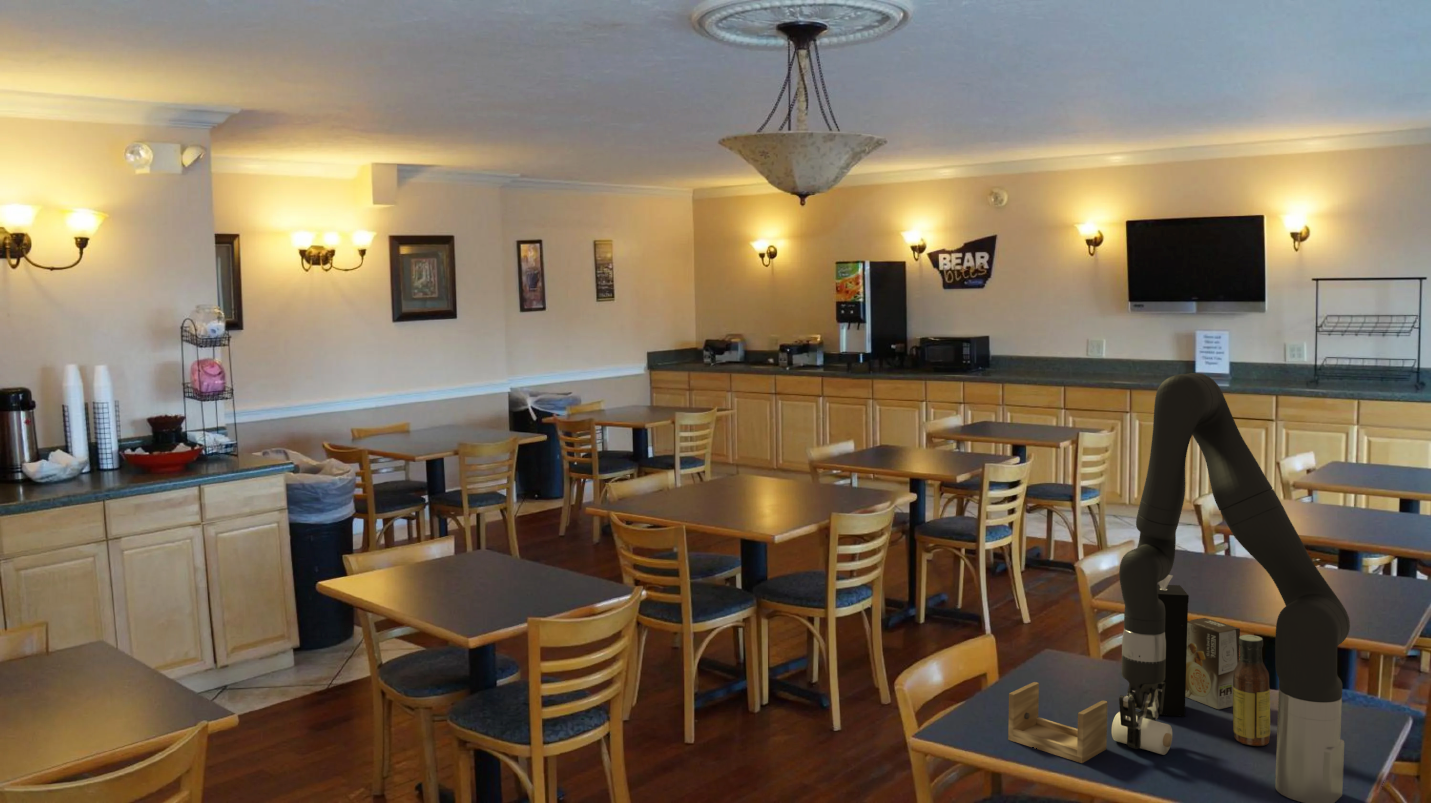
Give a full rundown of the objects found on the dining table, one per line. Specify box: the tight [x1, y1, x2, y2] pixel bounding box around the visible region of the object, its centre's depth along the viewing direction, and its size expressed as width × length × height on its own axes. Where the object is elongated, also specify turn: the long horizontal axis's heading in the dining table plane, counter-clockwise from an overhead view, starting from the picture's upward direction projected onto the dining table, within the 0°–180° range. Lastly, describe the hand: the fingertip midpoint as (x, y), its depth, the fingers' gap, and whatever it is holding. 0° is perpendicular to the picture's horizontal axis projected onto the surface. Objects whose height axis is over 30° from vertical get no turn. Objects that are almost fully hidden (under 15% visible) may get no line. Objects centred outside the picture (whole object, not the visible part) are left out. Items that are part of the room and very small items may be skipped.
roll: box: [1111, 711, 1173, 756], centre depth 202 cm, size 10×6×6 cm, turn 43°
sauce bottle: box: [1232, 634, 1271, 747], centre depth 204 cm, size 7×6×20 cm
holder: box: [1007, 681, 1109, 764], centre depth 203 cm, size 15×9×9 cm, turn 43°
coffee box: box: [1185, 617, 1241, 710], centre depth 225 cm, size 9×6×16 cm
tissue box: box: [1157, 574, 1190, 717], centre depth 220 cm, size 8×8×28 cm
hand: (1141, 742), depth 202 cm, fingers closed on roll, 5 cm apart
